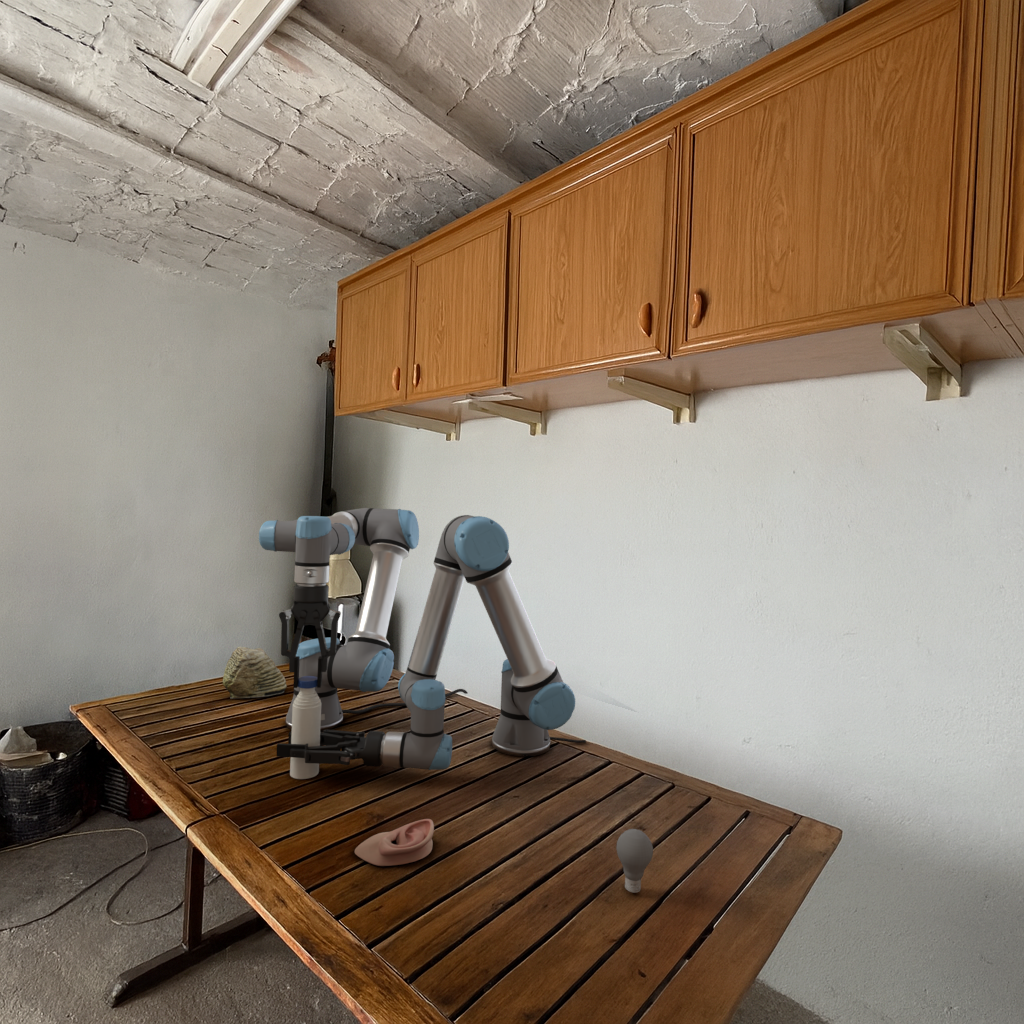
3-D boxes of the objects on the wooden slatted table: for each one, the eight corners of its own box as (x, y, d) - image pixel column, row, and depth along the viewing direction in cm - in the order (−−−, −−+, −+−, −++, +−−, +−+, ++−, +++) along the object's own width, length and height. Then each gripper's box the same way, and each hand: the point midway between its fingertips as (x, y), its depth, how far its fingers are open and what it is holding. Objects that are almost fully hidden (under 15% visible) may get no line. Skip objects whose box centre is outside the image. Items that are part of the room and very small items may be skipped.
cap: (312, 689, 142) (312, 682, 142) (293, 687, 142) (293, 680, 142) (321, 684, 146) (321, 677, 146) (303, 682, 147) (303, 675, 147)
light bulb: (610, 879, 108) (613, 822, 108) (644, 879, 109) (647, 822, 109) (619, 902, 102) (622, 840, 102) (655, 901, 103) (658, 840, 103)
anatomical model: (347, 838, 110) (374, 807, 122) (346, 860, 111) (373, 828, 122) (419, 850, 108) (440, 817, 119) (418, 873, 108) (439, 838, 119)
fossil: (218, 695, 195) (220, 647, 195) (278, 685, 208) (279, 640, 207) (228, 703, 189) (230, 653, 188) (289, 692, 201) (290, 645, 201)
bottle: (311, 765, 149) (314, 676, 149) (323, 774, 144) (327, 682, 144) (285, 772, 145) (288, 680, 144) (297, 781, 140) (300, 687, 140)
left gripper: (267, 585, 139) (264, 691, 139) (350, 587, 142) (346, 690, 142) (274, 581, 146) (270, 681, 146) (352, 582, 149) (348, 680, 150)
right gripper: (372, 784, 135) (265, 778, 135) (392, 748, 154) (297, 743, 154) (374, 749, 134) (266, 743, 135) (393, 718, 154) (299, 713, 154)
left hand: (307, 685), depth 144 cm, fingers open, 4 cm apart
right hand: (283, 743), depth 145 cm, fingers closed on bottle, 6 cm apart
